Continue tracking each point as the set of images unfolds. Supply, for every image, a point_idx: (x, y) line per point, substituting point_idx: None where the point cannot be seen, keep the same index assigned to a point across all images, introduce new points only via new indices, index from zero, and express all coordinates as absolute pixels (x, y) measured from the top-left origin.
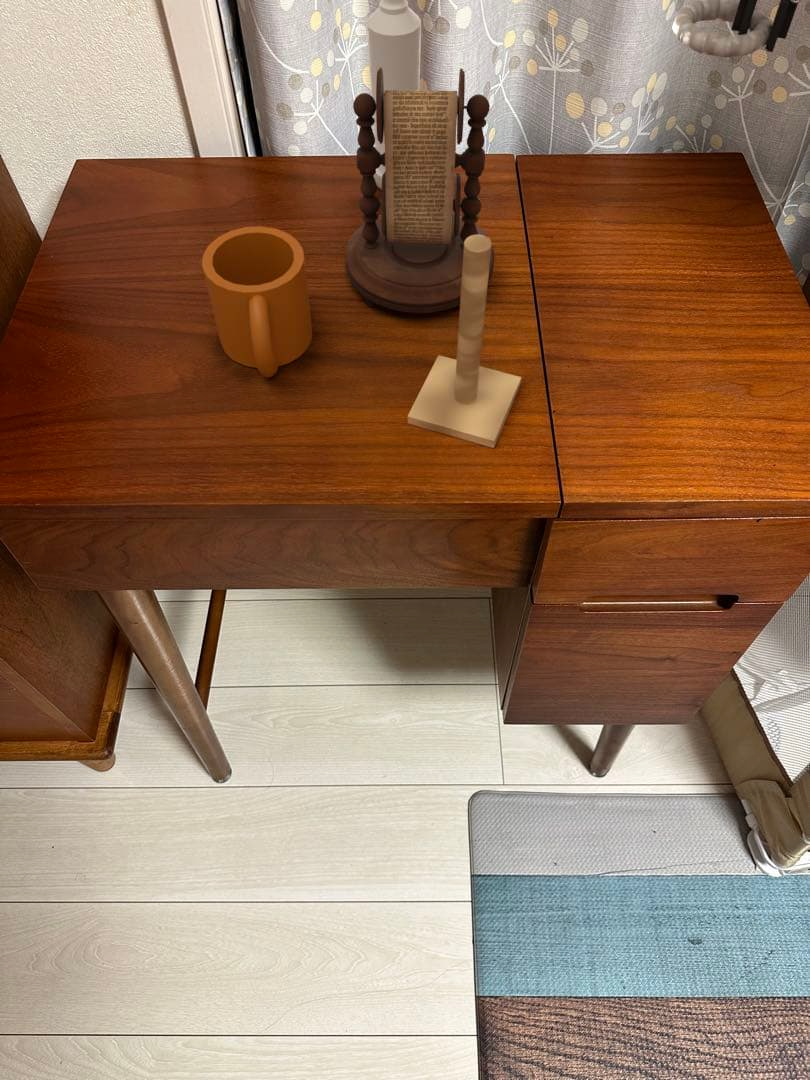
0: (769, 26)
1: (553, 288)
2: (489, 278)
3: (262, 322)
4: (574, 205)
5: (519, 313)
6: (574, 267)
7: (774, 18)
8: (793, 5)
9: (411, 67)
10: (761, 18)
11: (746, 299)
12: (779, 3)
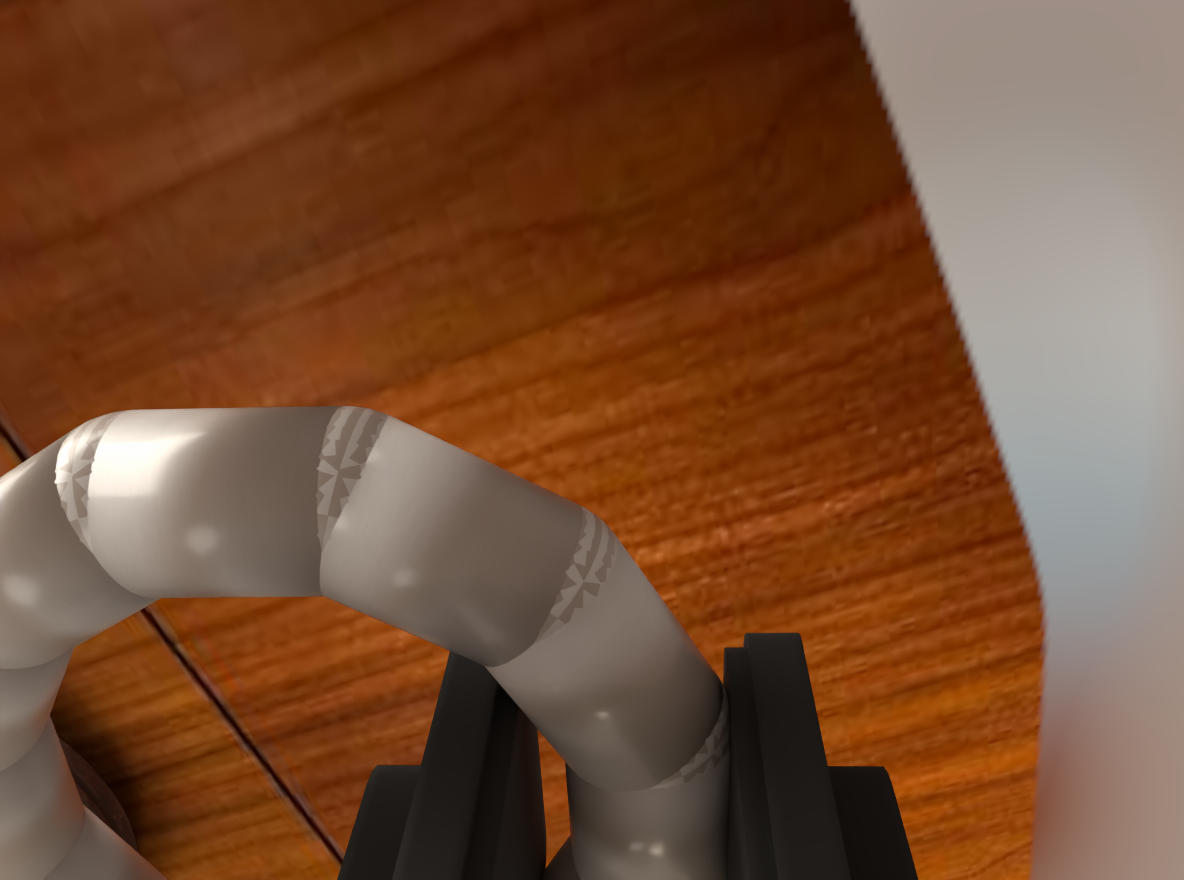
0: (707, 828)
1: (304, 734)
2: (130, 836)
3: None
4: (163, 353)
5: (268, 832)
6: (319, 643)
7: (735, 761)
8: None
9: None
10: (610, 769)
11: (870, 603)
12: (747, 864)
